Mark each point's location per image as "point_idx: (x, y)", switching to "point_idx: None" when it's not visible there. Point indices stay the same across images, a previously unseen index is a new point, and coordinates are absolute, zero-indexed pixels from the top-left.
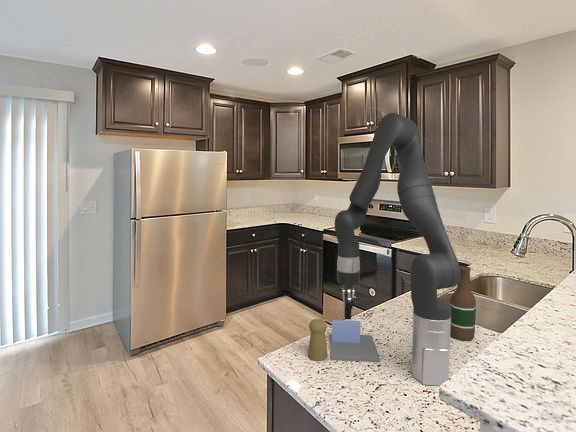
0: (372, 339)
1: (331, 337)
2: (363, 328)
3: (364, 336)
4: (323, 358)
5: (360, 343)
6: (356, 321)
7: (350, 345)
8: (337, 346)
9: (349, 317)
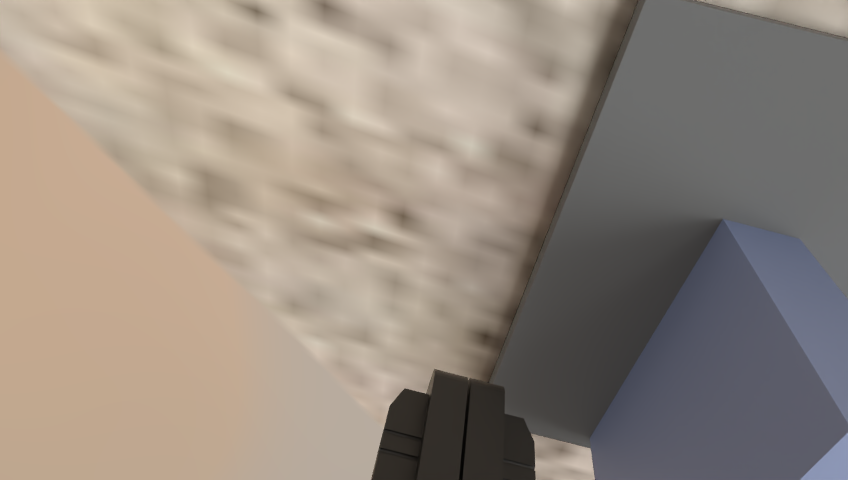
0: (781, 38)
1: (557, 430)
2: (333, 6)
3: (643, 118)
4: None
5: (810, 238)
6: (837, 477)
7: None
8: None
9: (528, 443)
